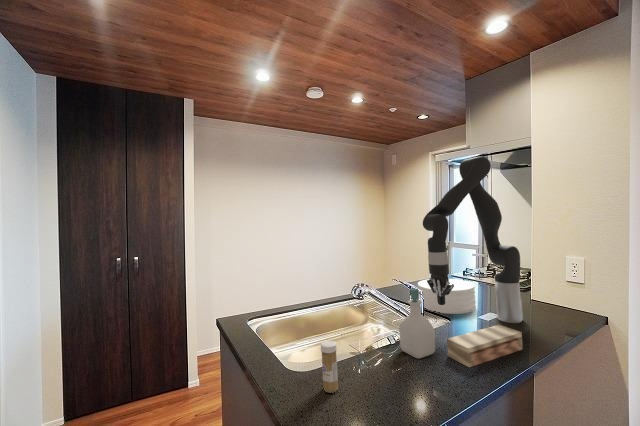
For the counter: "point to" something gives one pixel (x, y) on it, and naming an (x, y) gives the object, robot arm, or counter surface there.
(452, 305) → the plate stack
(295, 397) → the counter surface
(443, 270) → the robot arm
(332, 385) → the sprinkles bottle
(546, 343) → the counter surface
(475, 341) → the low box
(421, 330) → the soap bottle
